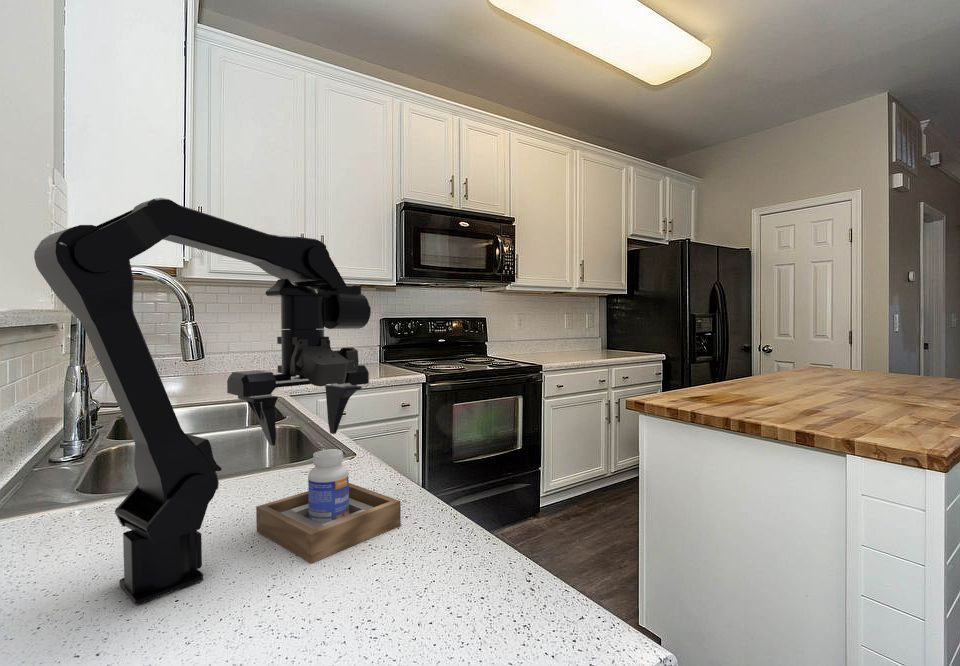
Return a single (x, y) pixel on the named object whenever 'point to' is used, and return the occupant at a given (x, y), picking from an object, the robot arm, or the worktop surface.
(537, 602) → the worktop surface
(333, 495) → the pill bottle
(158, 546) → the robot arm
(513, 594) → the worktop surface
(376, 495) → the walnut box
